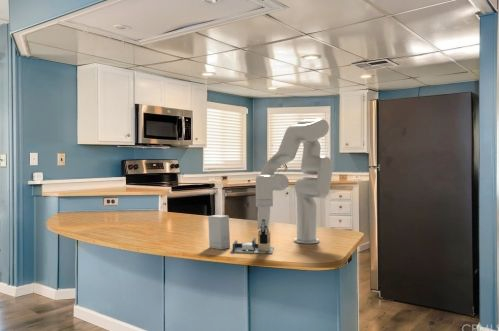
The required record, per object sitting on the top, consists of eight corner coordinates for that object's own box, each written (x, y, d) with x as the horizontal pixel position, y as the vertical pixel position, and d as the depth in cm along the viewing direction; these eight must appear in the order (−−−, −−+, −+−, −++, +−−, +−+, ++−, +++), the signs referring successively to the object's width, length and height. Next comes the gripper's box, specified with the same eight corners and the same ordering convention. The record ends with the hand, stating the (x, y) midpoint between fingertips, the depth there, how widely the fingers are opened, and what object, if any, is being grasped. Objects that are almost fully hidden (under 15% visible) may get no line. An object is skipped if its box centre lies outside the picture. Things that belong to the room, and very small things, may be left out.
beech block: (259, 248, 192) (259, 230, 192) (270, 248, 191) (270, 230, 191) (258, 250, 187) (258, 232, 187) (269, 251, 186) (269, 232, 186)
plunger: (244, 246, 194) (244, 237, 193) (256, 247, 193) (256, 237, 193) (241, 251, 184) (241, 241, 184) (253, 251, 184) (253, 241, 184)
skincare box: (230, 248, 195) (230, 215, 195) (221, 250, 190) (221, 216, 190) (217, 245, 200) (217, 214, 200) (207, 247, 196) (207, 215, 196)
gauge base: (234, 247, 197) (234, 239, 197) (273, 248, 194) (273, 240, 194) (230, 253, 185) (230, 244, 185) (272, 254, 183) (272, 246, 182)
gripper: (257, 200, 198) (258, 237, 198) (253, 205, 181) (254, 245, 181) (274, 200, 197) (274, 237, 197) (271, 205, 180) (271, 245, 180)
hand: (264, 241), depth 189 cm, fingers open, 9 cm apart
